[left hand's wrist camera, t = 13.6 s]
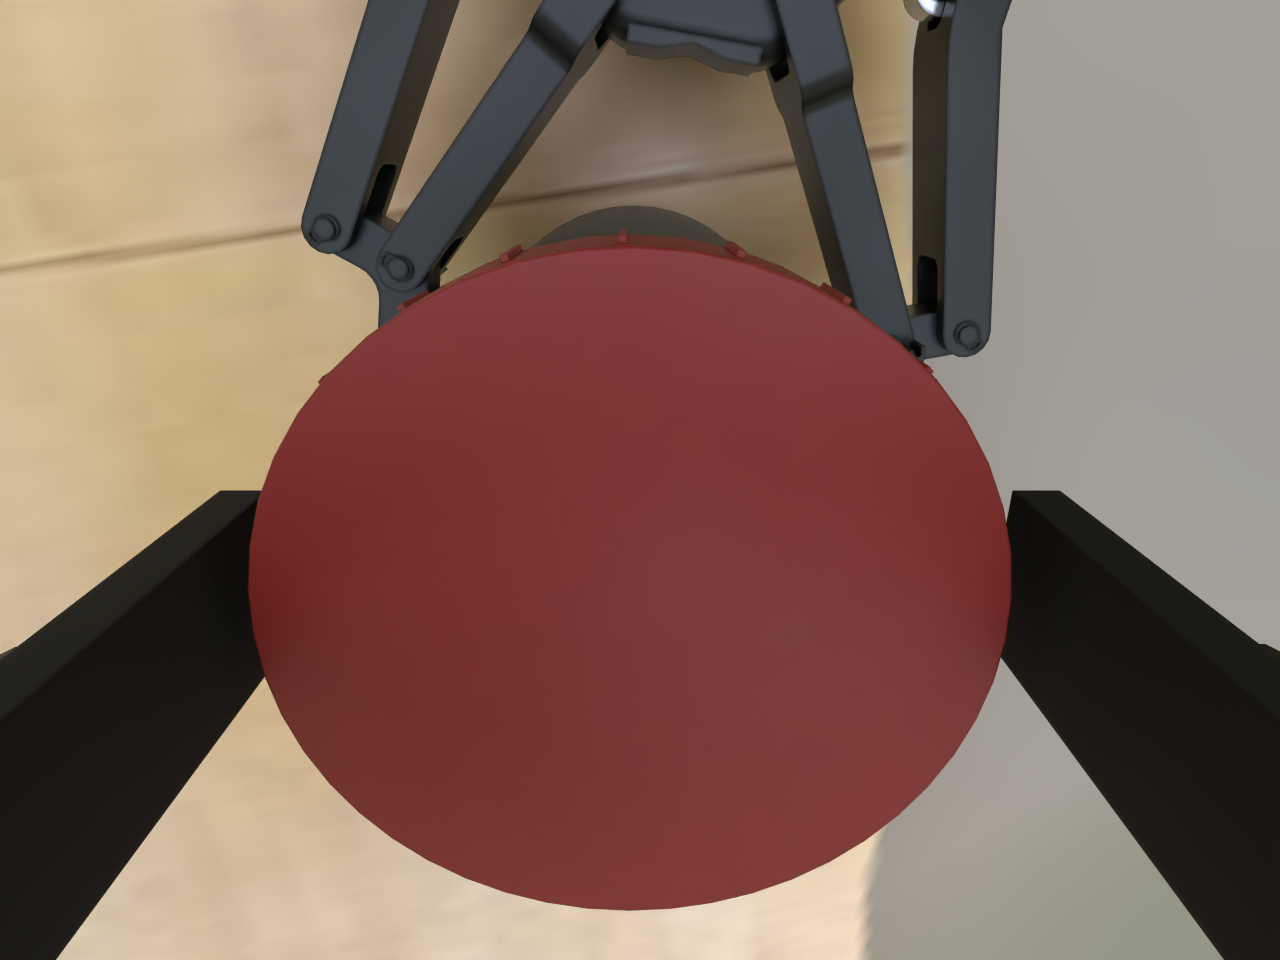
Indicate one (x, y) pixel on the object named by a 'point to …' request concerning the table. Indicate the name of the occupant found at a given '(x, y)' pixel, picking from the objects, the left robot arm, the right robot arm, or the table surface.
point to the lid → (630, 574)
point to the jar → (633, 225)
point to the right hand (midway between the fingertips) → (610, 541)
